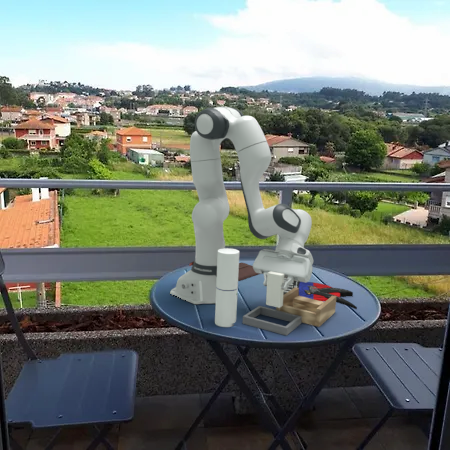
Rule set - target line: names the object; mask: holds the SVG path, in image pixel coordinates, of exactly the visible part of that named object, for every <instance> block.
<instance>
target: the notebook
mask: <svg viewBox="0 0 450 450" xmlns="http://www.w3.org/2000/svg"><path fill="white" fill-rule="evenodd" d="M258 275H261V274H260V273H256V272H255V271H254V269H253V265H252V264H248V263H245V262H239V272H238V282H241V281H243V280H246V279H249V278H252V277H255V276H258Z"/></svg>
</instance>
